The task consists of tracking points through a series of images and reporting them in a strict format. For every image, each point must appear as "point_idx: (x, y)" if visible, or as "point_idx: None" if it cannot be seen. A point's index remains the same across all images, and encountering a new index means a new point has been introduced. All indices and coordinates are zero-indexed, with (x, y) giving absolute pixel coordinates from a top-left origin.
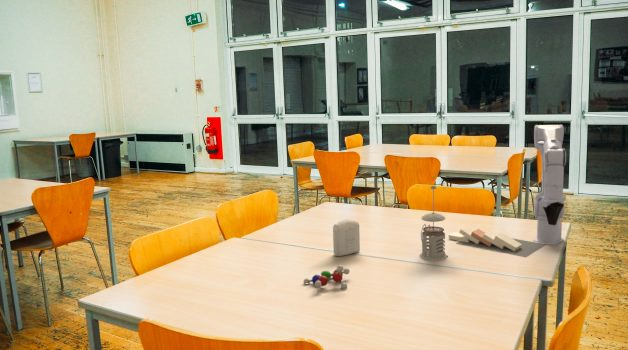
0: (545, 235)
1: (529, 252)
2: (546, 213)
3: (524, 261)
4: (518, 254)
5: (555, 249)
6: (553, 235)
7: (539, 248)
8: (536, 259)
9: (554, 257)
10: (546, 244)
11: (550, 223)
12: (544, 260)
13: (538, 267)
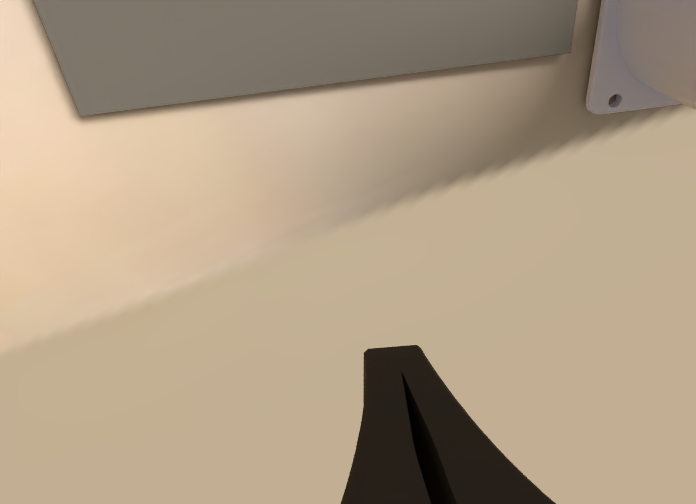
0: (661, 32)
1: (222, 67)
2: (349, 491)
3: (15, 139)
4: (81, 19)
5: (495, 155)
6: (685, 102)
7: (403, 71)
8: (146, 178)
9: (297, 239)
10: (568, 52)
11: (365, 383)
12: (177, 226)
13: (9, 269)
